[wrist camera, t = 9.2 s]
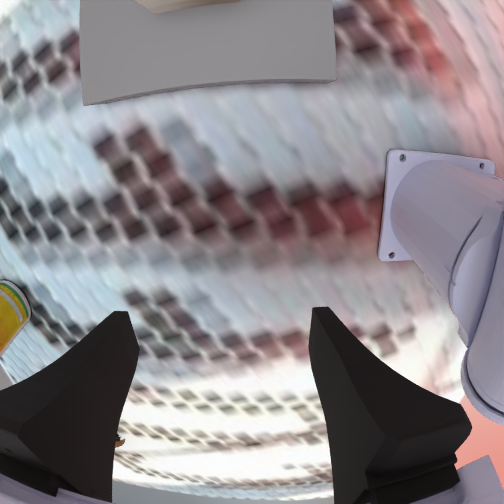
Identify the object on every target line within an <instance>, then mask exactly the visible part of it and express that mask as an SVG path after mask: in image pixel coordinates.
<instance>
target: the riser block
mask: <svg viewBox="0 0 504 504" xmlns="http://www.w3.org/2000/svg"><path fill="white" fill-rule="evenodd" d="M80 68H81V85H82V98H83V106H87V105H96V104H106V103H111V102H115V101H120V100H125V99H129V98H135V97H140V96H145V95H151V94H157V93H163V92H170V91H177V90H184V89H192V88H201V87H211V86H222V85H235V84H252V83H328V82H332V81H336V80H337V70H336V50H335V34H334V21H333V9H332V0H240V2H234V3H223V4H214V5H205V6H198V7H191V8H185V9H179V10H173V11H168V12H163V13H158V14H154V13H152V12H151V11H150V10H148V9H147V8H145V7H144V6H142V5H141V4H140V3H138V2H137V1H135V0H80Z"/></svg>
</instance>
